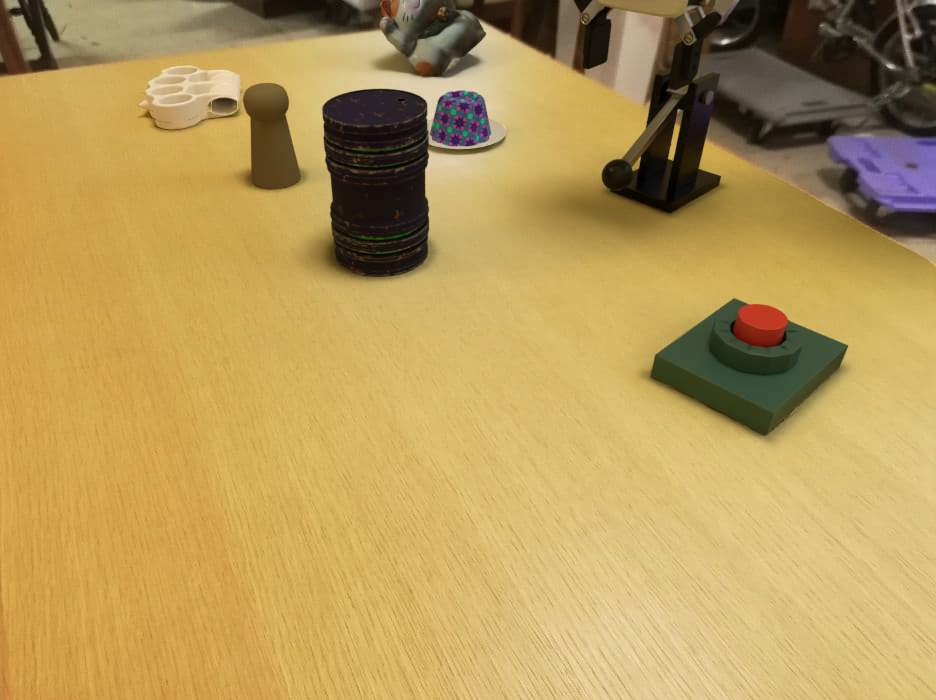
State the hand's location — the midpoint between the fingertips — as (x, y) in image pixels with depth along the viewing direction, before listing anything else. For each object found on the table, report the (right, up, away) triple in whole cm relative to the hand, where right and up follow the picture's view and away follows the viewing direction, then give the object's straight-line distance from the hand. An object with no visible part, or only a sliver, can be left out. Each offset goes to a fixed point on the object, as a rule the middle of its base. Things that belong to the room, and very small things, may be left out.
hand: (635, 75), depth 75 cm
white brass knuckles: (-53, +12, +41) cm, 68 cm away
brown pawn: (-38, -4, +21) cm, 43 cm away
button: (+5, -26, -14) cm, 30 cm away
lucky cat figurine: (-17, +24, +53) cm, 61 cm away
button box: (+5, -29, -11) cm, 32 cm away
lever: (+4, -4, +9) cm, 10 cm away
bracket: (+8, -7, +15) cm, 18 cm away
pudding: (-14, +4, +29) cm, 33 cm away
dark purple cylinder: (-25, -16, +6) cm, 30 cm away
